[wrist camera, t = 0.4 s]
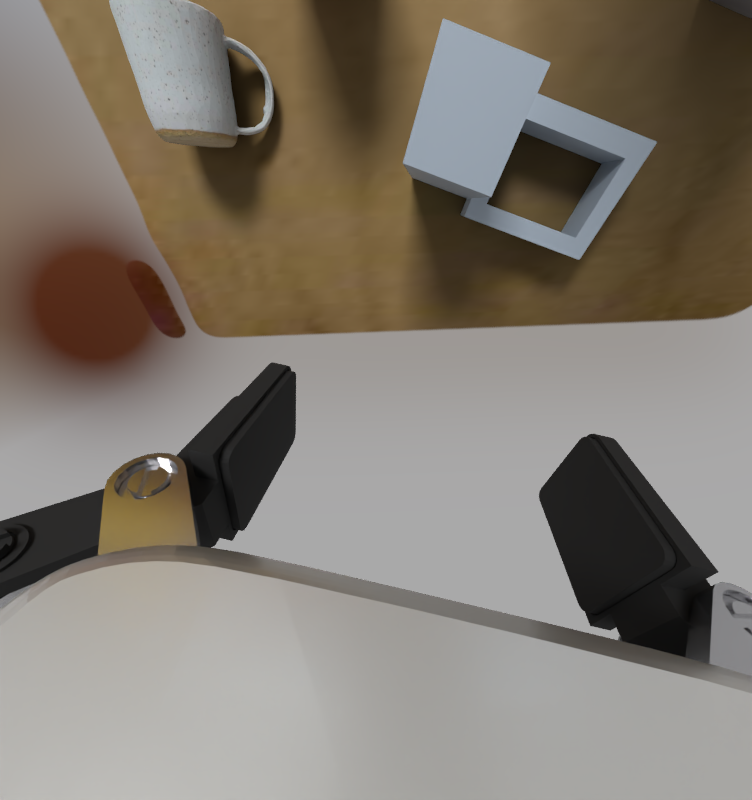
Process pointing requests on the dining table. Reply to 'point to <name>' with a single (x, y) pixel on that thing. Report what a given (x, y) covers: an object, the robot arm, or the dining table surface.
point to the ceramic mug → (185, 71)
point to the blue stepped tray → (511, 136)
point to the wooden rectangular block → (737, 6)
